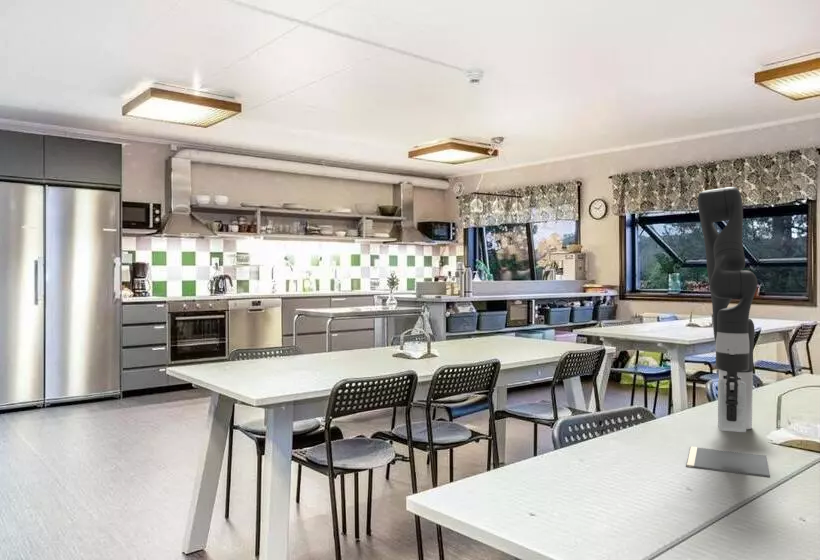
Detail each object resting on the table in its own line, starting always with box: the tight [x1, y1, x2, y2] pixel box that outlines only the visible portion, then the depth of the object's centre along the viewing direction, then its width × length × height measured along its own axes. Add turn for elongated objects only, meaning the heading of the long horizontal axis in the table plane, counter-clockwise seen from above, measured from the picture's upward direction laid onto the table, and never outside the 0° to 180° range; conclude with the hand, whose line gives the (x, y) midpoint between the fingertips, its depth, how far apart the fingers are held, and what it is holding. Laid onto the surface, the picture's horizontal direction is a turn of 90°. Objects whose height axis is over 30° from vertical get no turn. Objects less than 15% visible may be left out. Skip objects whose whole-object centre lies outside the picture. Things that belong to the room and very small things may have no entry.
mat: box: [685, 446, 771, 478], centre depth 163 cm, size 18×18×1 cm
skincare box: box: [717, 379, 747, 433], centre depth 163 cm, size 6×4×12 cm
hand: (731, 418), depth 163 cm, fingers closed on skincare box, 4 cm apart
